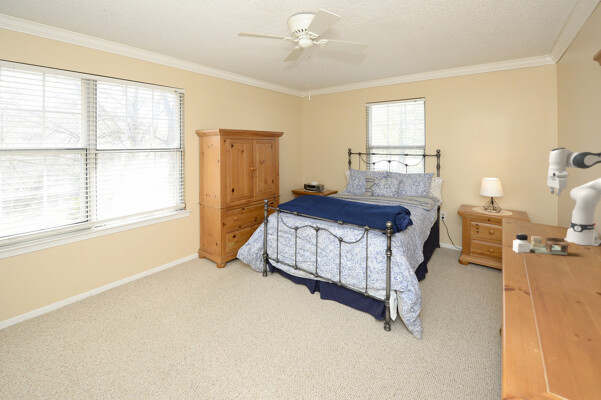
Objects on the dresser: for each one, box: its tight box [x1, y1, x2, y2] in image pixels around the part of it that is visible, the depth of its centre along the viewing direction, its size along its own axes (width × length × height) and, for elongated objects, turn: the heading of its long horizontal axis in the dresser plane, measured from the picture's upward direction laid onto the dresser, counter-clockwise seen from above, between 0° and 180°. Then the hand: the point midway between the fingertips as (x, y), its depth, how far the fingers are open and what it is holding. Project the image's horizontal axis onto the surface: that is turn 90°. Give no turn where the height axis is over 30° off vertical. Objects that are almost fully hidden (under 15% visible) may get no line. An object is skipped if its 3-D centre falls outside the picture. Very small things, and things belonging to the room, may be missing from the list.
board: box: [530, 243, 568, 256], centre depth 198 cm, size 16×15×3 cm
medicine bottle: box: [512, 233, 531, 254], centre depth 199 cm, size 7×7×12 cm
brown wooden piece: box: [545, 236, 569, 254], centre depth 190 cm, size 9×7×8 cm
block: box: [530, 235, 543, 247], centre depth 202 cm, size 4×4×6 cm
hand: (555, 194), depth 196 cm, fingers open, 8 cm apart
